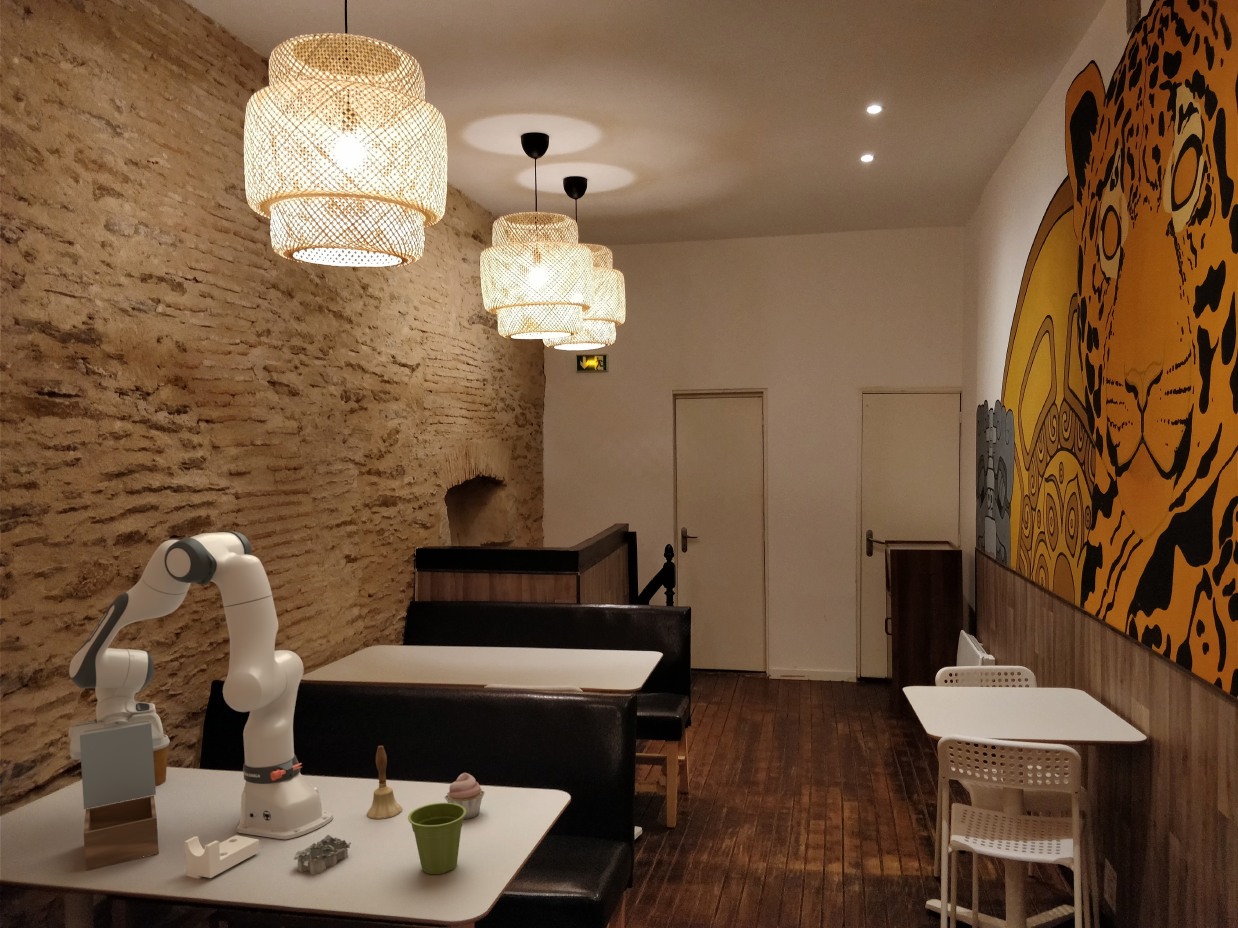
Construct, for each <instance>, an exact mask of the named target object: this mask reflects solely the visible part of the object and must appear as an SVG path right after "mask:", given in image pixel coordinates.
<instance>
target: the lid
mask: <svg viewBox="0 0 1238 928" xmlns="http://www.w3.org/2000/svg"><path fill="white" fill-rule="evenodd" d="M80 748H81V759H80V761H81V762H80V765H81V781H82V798H83V801H82V802H83V810H86V809H89V808H94V807H99V806H104V805H109V804H114V803H119V802H124V801H129V800H134V799H139V798H143V797H148V796H153V795H154V796H156V795H157V792H156V790H157V789H156V786H155V773H154V758H153V742H152V727H151V723H148V724H143V725H137V726H131V727H125V728H119V729H113V730H107V731H101V732H95V733H89V734H84V735H80Z"/></svg>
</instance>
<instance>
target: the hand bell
mask: <svg viewBox="0 0 1238 928" xmlns="http://www.w3.org/2000/svg"><path fill="white" fill-rule="evenodd" d="M387 758H388V757H387V754H386V750H385V748H384V745H378V746H377V750H376V754H375V764H376V765H375V766H376V769H377V771H378V788H376V789H374V790H373V795H372V796H373V797H372V798H373V799H372V803H371V806H370V808H369V809H368V811H367V812H366V816H367V817H368V818H369V819H374V820H383V819H388V818H392V817H395V816H397V815H399V814H400V813H401V812H402V811H403V808H402V805H400V804H399V803H398V802H397V800H396V799H395V795H394V789H393V788H392V787H390V786H387V776H386V771H387V765H388V760H387Z"/></svg>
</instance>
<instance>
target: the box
mask: <svg viewBox="0 0 1238 928" xmlns="http://www.w3.org/2000/svg"><path fill="white" fill-rule="evenodd" d="M155 800H156V799H155V795H151V796H146V797H141V798H137V799H132V800H127V801H122V802H117V803H112V804H107V805H102V806H97V807H92V808H87V809H85V814H84V815H85V816H84V829H83V843H84V844H83V845H84V860H85V861H84V862H85V871H91V870H95V869H98V868H99V869H100V868H103V867H107V866H112V865H116V863H117V864H120V862H121V863H125V862H129V861H128V860H130V861H133V860H132V859H134V860H137V858H138V859H141V858H140V857H143V856H147V857H149V856H148V855H151V856H154V854H155V855H159V854H160V850H159V849H160V847H159V835H158V834H159V833H158V832H159V831H158V818H157V817H158V816H157V810H156V809H157V808H156V801H155ZM158 853H159V854H158ZM143 858H144V857H143ZM124 861H125V862H124Z"/></svg>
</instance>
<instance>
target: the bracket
mask: <svg viewBox="0 0 1238 928" xmlns="http://www.w3.org/2000/svg"><path fill="white" fill-rule="evenodd" d="M204 847H205V848H204ZM204 847H202V845H201V843H200V841H199V836H196V835H195V836H193V837H191V838H189V839H187V840H186V839H185V840H184V855H185V856H184V857H185V871H186V877H189V876H190V878H193V879H200V878H203V877H204V878H209V879H212V878H214V877H215V876H217V875H219V874H221V873H223V872H224V871H227V870H228V869H230V868H233V866H236V865H238V864H239V863H242V862H243V861H245V860H246V859H248V858H251V857H252V856H254V855H256V854H258V853H260V852H261V850H260V849H261V847H260V839H258V838H253V837H247V836H241V835H236V834H235V835H233V836H231V837H230V838H227V839H225V840H223V841H221V842H220V841H219V840H214V841H212V842H210V843H208V844H205V846H204Z"/></svg>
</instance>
